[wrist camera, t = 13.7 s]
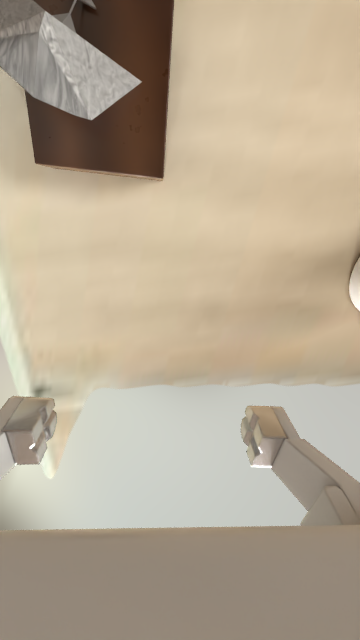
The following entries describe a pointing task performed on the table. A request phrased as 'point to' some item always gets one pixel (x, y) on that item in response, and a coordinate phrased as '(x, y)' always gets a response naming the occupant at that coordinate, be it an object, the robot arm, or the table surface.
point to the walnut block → (129, 111)
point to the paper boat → (58, 60)
